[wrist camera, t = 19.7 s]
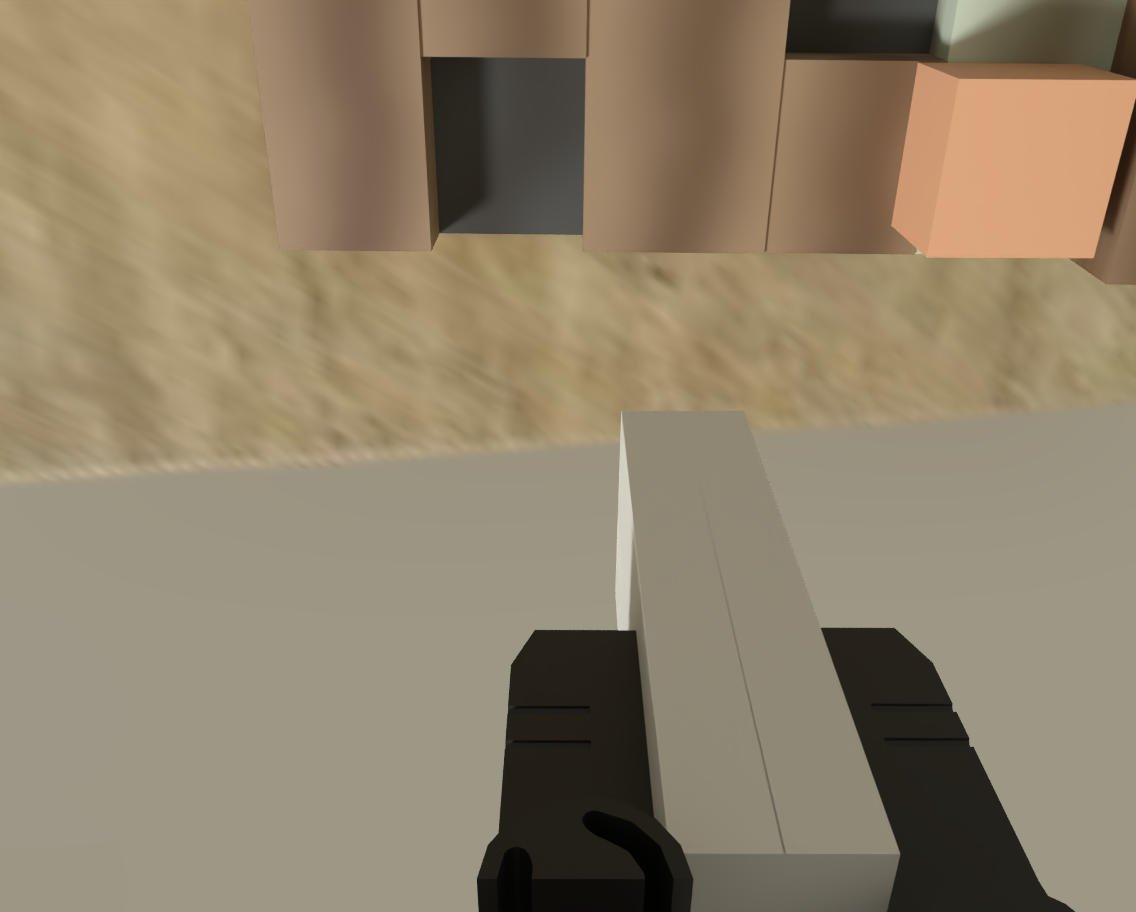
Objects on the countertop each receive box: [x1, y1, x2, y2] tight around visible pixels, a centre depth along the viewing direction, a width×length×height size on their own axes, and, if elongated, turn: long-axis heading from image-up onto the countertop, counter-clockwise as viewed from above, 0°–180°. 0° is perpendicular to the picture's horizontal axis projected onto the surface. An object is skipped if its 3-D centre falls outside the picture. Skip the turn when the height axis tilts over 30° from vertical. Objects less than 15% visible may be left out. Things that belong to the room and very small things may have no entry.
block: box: [891, 62, 1136, 258], centre depth 30 cm, size 5×5×4 cm
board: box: [248, 0, 1136, 285], centre depth 30 cm, size 27×12×5 cm, turn 89°
